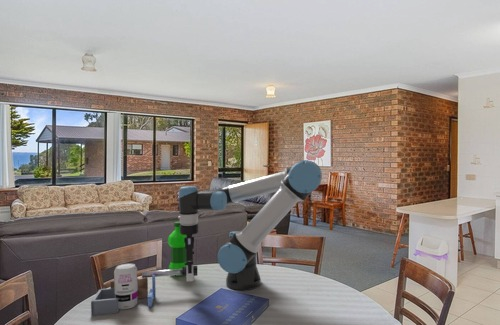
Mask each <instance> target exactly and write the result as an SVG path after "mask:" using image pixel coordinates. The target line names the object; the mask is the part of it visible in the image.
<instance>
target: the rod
mask: <svg viewBox="0 0 500 325" xmlns="http://www.w3.org/2000/svg"><path fill="white" fill-rule="evenodd" d="M175 275H182V278H184V277H186V266H184V267H182V269H171V270H169V269H159V270H149V271H148V270H147V271H141V278H152V279H151V280H152V281H151V282H152V284H151V285H152V286H151V287H152V288H149V290H148V297H147V307H148V308H149V307H153V303H154V299H156V292H157V291H156V278H157V277H171V276H175ZM195 276H196V277H197V276H198V265H193V277H195Z"/></svg>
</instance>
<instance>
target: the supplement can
mask: <svg viewBox="0 0 500 325" xmlns="http://www.w3.org/2000/svg"><path fill="white" fill-rule="evenodd" d="M113 275H114V276H113V277H114V278H113V280H114V285H115V298H118V310H128V309H132V308H134V307H136V306H137V304H138V303H139V298H138V284H137V278H138V268H137V266H136V264H135V263H129V262H128V263H121V264H118V265H117V266H116V267H115V269H114V271H113Z"/></svg>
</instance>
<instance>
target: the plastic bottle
mask: <svg viewBox="0 0 500 325" xmlns="http://www.w3.org/2000/svg"><path fill="white" fill-rule="evenodd" d="M180 225H181V224H180V221H174V222H173V227H174V228H175V229H174V230H173V231H172V232H171V233H170V234H169V236H168V238H167V244H168V246H169V247H170V263H169V266H168V270H171V269H182V267H184V266H186V265H185V263H186V262H187V259H186V249H185V243H184V238H185V237H186V235H182V234H180ZM175 277H181V275H176V276H175Z"/></svg>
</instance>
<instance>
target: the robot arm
mask: <svg viewBox="0 0 500 325" xmlns="http://www.w3.org/2000/svg"><path fill="white" fill-rule="evenodd" d="M322 174H323V173H322V170H321V167H320V166H319V165H318V164H317V163H315V162H314V161H312V160H307V159H306V160H300V161H298V162H296V163H294V164H293V165H292V166H289V167H286V168H284V170H283V171H279V172H277V173H272V174H268V175H264V176H261V177H257V178H254V179H249V180H246V181H243V182H239V183H238V182H237V183H235V184H231V185H228V186H224V187H219V188H217V189H214V190H211V191H210V190H208V191H206V190H205V191H202V190H201V191H200V190H199V189H198V187H197V186H194V185H188V186H187V185H186V186H180V188H179V193H178V204H179V205H178V207H179V216H178V217H177V219H179V222H180V224H181V225H180V234H182V235H186V237H185V238H184V243H185V249H186V259H187V262H186V263H185V265H186V282H194V276H193V266H194V260H193V259H194V255H195V250H194V248H195V247H194V246H195V244H194V243H195V236H193V235H196V234H198V233H199V224H198V223H199V211H198V210H201V211H202V210H203V211H204V210H206V211H207V210H208V211H222V210H225V209H226V207H227V205H229V204H233V203H237V202H240V201H245V200H248V199H252V198H257V197H260V196H264V195H269V194H272V193H274V194H273V195H272V196H271V197H270V199H269V200H268V201H267V202H266V203H265V204H264V206H263V207H261V208H260V210H259V211H258V212H257V213H256V214H255V215H254V216H253V218H252V219H251V220H250V221H249V222H248V224H247V225H246V226H245V227H244V228H243V229H242V230H236V231H235V230H234V231H230V232H229V235H228V240H227V241H226V243H224V244H223V245H222V246H221V247H220V248H219V250H218V253H217V263H218V264H219V267H220V268H221V269H223V271H224V272H227V275H226V280H225V281H226V282H225V285H226V286H227V287H228V288H230V289H231V290H237V291H238V290H239V291H246V290H247V291H248V290H253V289H256V288H258V287H260V286H261V283H262V281H261V280H262V278H261V275H260V273H259V270H258V267H257V253H258V252H259V246H260V244H261V243H262V242H264V240H265V239H266V238H267V236H268V235H269V234H271V232H272V231H273V230H274V229H275V228H276V227H277V225H278V224H279V223H280V222H281V221H282V220H283V219H284V218H285V217H286V216H287V214H289V212H290V211H291V210H292V209H293V208H294V207H295V205H297V203H298V202H304V201H306V199H307V198H308V197H309V196H310V195H311V194H312V193H313V192H314V191H316V190H317V188H319V186H320V184H321V182H322V179H323V176H322ZM193 250H194V251H193Z"/></svg>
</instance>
